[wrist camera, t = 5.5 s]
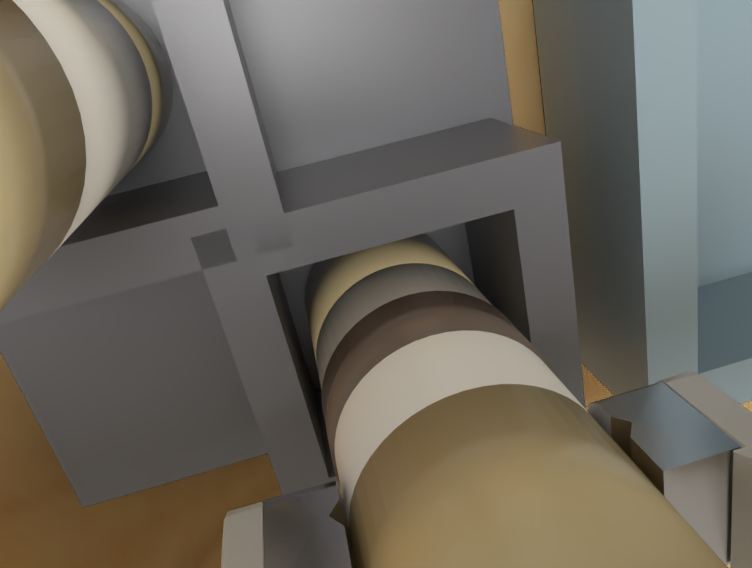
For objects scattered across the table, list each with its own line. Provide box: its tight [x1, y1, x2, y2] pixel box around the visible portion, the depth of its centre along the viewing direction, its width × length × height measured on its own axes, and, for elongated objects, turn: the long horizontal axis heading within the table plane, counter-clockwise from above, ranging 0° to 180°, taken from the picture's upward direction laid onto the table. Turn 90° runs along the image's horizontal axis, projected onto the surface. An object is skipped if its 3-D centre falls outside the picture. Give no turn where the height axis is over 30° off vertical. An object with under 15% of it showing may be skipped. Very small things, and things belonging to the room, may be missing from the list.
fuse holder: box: [0, 0, 585, 508], centre depth 13 cm, size 14×13×4 cm
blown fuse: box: [305, 233, 728, 568], centre depth 10 cm, size 4×4×10 cm
